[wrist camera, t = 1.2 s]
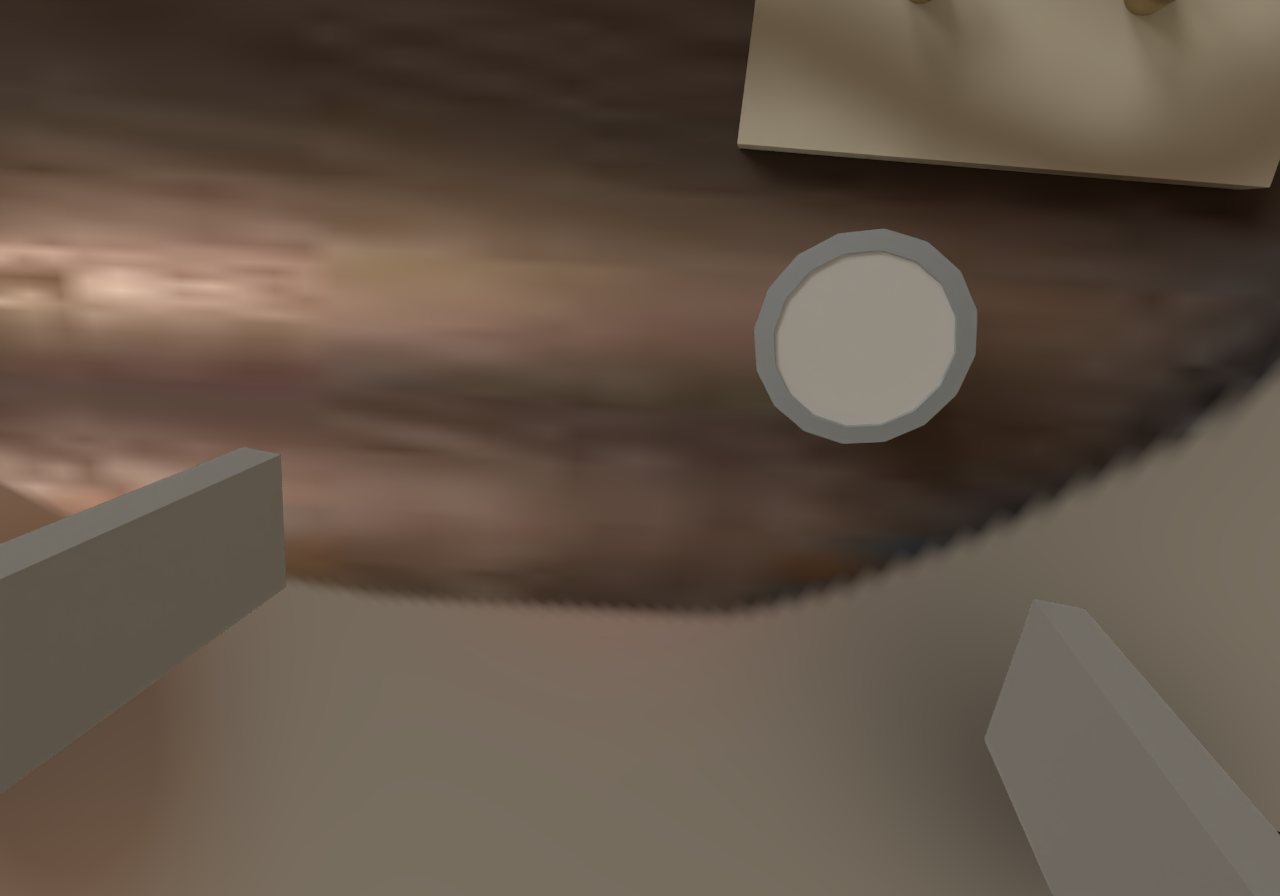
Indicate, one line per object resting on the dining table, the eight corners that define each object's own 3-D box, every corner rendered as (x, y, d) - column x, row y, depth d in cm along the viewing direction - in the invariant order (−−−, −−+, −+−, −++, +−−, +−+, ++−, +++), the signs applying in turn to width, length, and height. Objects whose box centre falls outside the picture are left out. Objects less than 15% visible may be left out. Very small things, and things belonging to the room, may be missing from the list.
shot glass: (812, 196, 27) (828, 185, 20) (964, 281, 27) (1029, 298, 20) (725, 347, 29) (714, 381, 23) (864, 425, 29) (894, 482, 23)
